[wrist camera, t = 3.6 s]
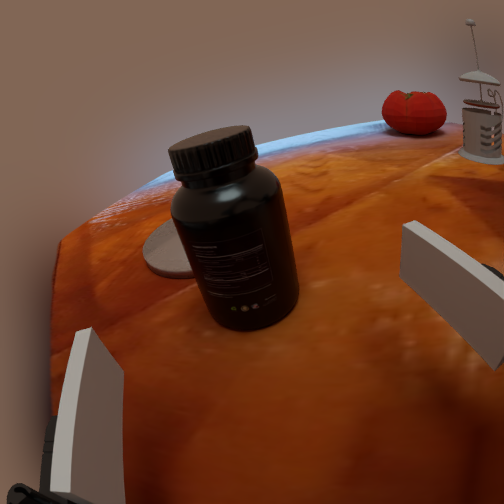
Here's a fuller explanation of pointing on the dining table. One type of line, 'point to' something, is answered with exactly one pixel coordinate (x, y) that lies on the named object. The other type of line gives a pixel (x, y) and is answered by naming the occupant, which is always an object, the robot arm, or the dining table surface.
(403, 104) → the tomato
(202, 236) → the supplement bottle
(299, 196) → the dining table surface
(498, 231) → the dining table surface
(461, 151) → the french press
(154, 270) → the hub disc
